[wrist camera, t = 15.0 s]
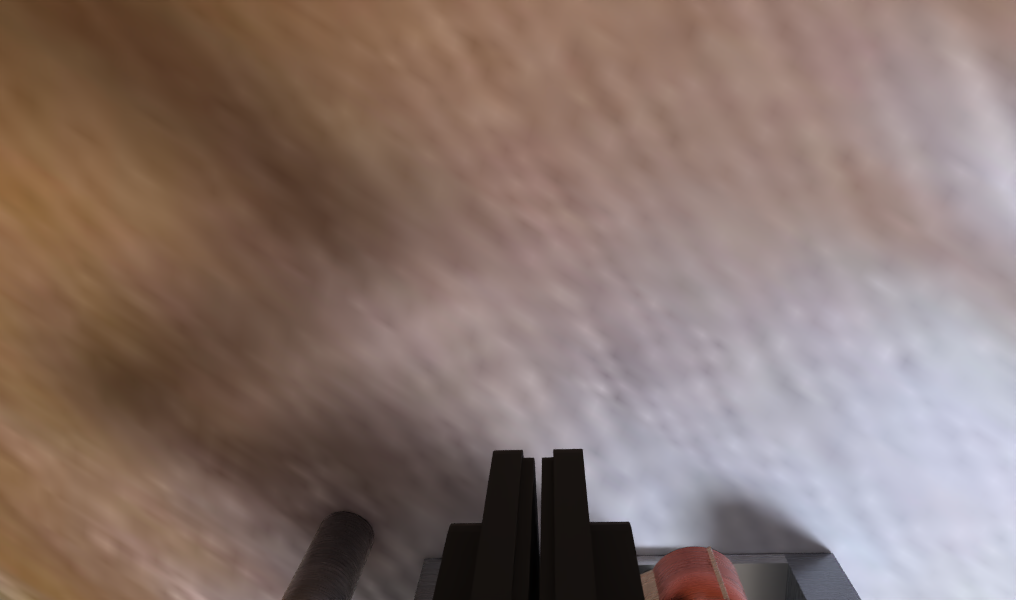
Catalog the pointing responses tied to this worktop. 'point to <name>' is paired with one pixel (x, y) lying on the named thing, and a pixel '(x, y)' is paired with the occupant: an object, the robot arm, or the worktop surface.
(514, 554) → the robot arm
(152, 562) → the worktop surface
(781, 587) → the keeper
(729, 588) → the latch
